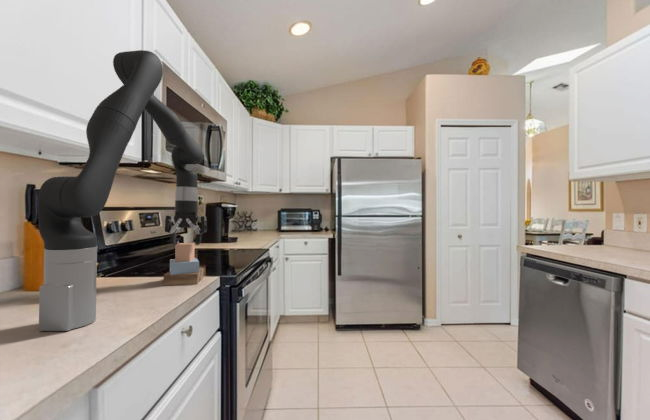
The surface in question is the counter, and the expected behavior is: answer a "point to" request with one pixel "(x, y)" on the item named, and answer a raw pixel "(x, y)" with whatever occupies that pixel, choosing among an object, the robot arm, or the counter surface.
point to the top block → (184, 266)
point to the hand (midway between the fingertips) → (185, 244)
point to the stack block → (184, 251)
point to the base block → (183, 278)
